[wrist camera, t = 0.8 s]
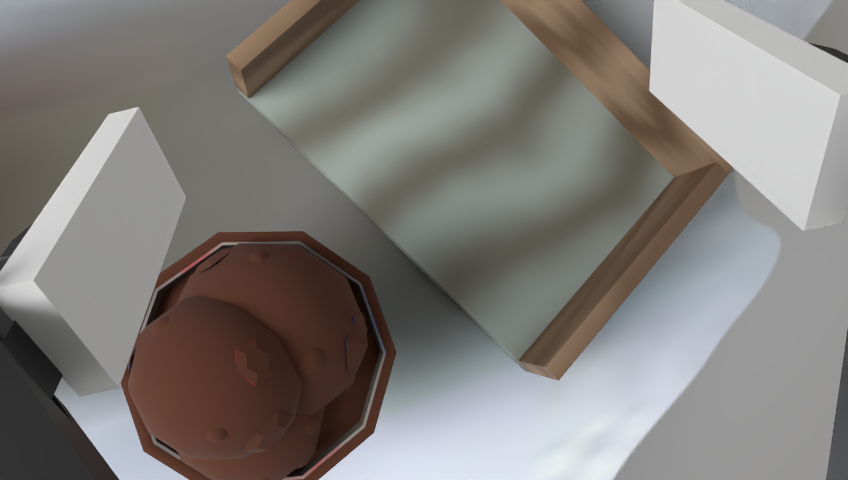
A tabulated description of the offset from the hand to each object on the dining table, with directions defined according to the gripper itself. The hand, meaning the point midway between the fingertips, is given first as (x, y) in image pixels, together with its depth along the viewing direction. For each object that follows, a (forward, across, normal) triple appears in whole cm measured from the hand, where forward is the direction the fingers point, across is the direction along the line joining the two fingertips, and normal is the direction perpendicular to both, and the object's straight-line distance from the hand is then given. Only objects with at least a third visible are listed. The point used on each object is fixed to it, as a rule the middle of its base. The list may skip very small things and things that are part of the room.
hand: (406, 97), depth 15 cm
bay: (+19, +4, -12) cm, 23 cm away
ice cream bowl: (+10, -10, -17) cm, 22 cm away
